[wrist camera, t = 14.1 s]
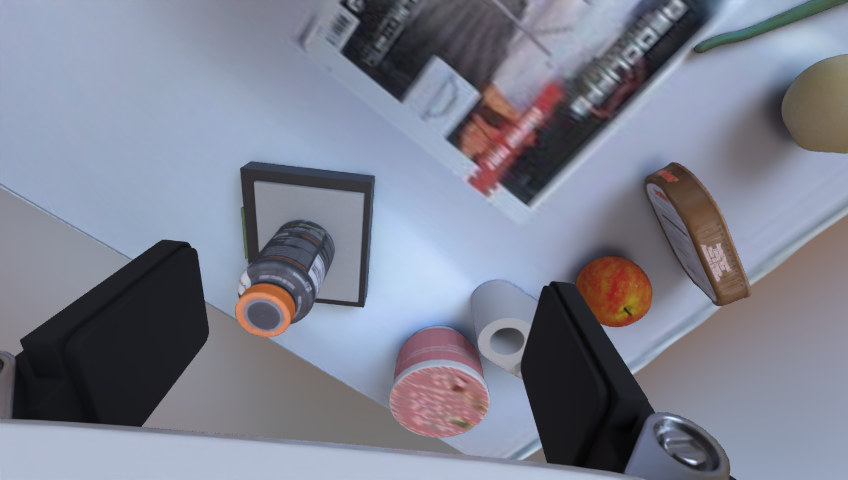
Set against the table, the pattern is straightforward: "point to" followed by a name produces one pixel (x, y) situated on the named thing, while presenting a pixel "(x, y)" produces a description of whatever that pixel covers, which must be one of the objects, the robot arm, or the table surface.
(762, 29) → the pliers
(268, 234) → the scale
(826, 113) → the potato
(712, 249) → the tin
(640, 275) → the fruit
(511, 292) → the grey hollow cylinder
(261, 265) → the pill bottle
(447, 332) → the container
